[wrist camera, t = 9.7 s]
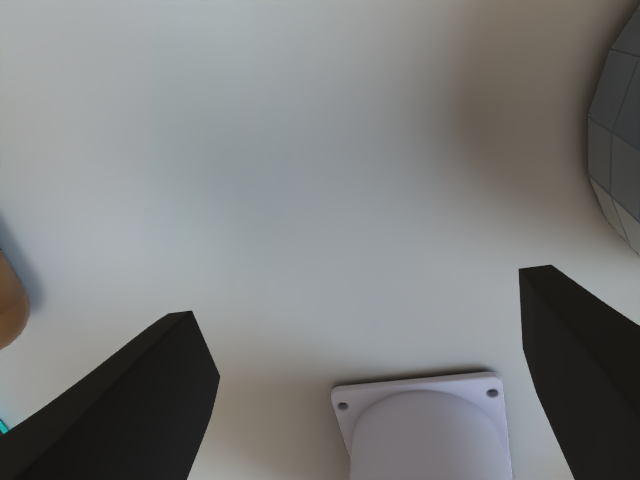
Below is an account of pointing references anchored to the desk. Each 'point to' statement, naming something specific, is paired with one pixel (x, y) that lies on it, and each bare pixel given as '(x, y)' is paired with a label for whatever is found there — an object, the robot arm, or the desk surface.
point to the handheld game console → (2, 429)
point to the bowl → (618, 135)
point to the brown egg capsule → (11, 304)
